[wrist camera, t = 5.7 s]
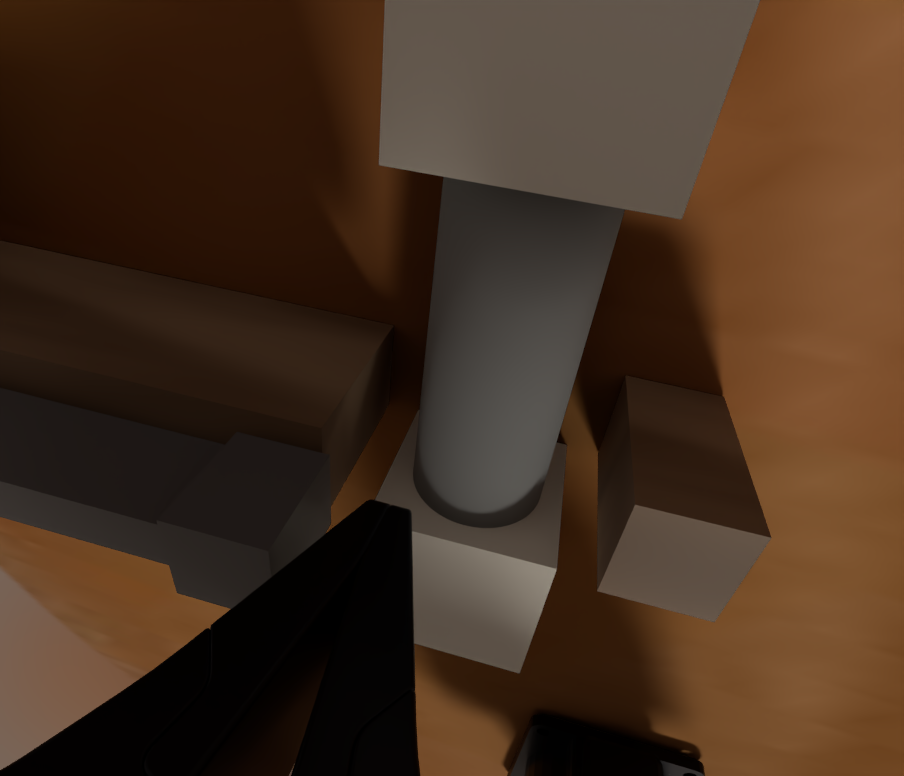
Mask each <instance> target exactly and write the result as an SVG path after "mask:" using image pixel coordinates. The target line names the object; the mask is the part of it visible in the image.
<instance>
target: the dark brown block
mask: <svg viewBox="0 0 904 776" xmlns="http://www.w3.org/2000/svg"><path fill="white" fill-rule="evenodd" d="M393 331H394V325H390V324H385V323H380V322H376V321H371V320H366V319H362V318H357V317H352V316H348V315H343V314H339V313H334V312H329V311H325V310H320V309H315V308H311V307H306V306H301V305H297V304H292V303H288V302H283V301H278V300H274V299H269V298H264V297H260V296H255V295H251V294H246V293H241V292H237V291H232V290H227V289H223V288H218V287H213V286H209V285H204V284H200V283H195V282H190V281H186V280H181V279H176V278H172V277H167V276H163V275H158V274H153V273H149V272H144V271H139V270H135V269H130V268H125V267H121V266H116V265H112V264H107V263H102V262H98V261H93V260H88V259H84V258H79V257H74V256H70V255H65V254H61V253H56V252H51V251H47V250H42V249H37V248H33V247H28V246H24V245H19V244H14V243H10V242H5V241H0V388H3V389H7V390H11V391H15V392H19V393H23V394H27V395H31V396H35V397H39V398H43V399H47V400H51V401H55V402H59V403H63V404H66V405H70V406H74V407H78V408H82V409H86V410H90V411H94V412H98V413H102V414H106V415H110V416H114V417H118V418H122V419H126V420H130V421H134V422H138V423H141V424H145V425H149V426H153V427H157V428H161V429H165V430H169V431H173V432H177V433H181V434H185V435H189V436H193V437H197V438H201V439H205V440H209V441H212V442H216V443H220V444H224V445H225V444H226V443H227V442H228V441H229V440H230V439H231V438H232V436H233V435H234V434H235V433H236V432H240V433H244V434H248V435H252V436H256V437H260V438H264V439H268V440H272V441H276V442H280V443H284V444H288V445H292V446H296V447H300V448H304V449H308V450H312V451H316V452H320V453H324V454H328V455H330V495H331V506H332V504H333V502H334V500H335V499H336V497H337V495H338V493H339V492H340V490H341V488H342V486H343V484H344V483H345V481H346V479H347V477H348V476H349V474H350V472H351V470H352V469H353V467H354V465H355V463H356V462H357V460H358V458H359V456H360V455H361V453H362V451H363V449H364V447H365V446H366V444H367V442H368V440H369V439H370V437H371V435H372V433H373V432H374V430H375V428H376V426H377V425H378V423H379V421H380V419H381V418H382V416H383V414H384V412H385V410H386V409H387V407H388V405H389V396H390V380H391V364H392V347H393ZM770 539H771V535H770V532H769V529H768V526H767V523H766V520H765V517H764V514H763V511H762V508H761V505H760V502H759V499H758V496H757V494H756V491H755V488H754V485H753V482H752V479H751V476H750V473H749V470H748V467H747V464H746V461H745V458H744V455H743V452H742V449H741V446H740V443H739V440H738V437H737V434H736V431H735V428H734V425H733V422H732V419H731V416H730V413H729V410H728V407H727V404H726V401H725V398H724V397H723V396H718V395H714V394H709V393H705V392H700V391H695V390H691V389H686V388H681V387H677V386H672V385H667V384H663V383H658V382H654V381H649V380H644V379H640V378H635V377H630V376H625V379H624V382H623V385H622V388H621V390H620V393H619V396H618V399H617V402H616V404H615V407H614V410H613V413H612V416H611V418H610V421H609V424H608V427H607V430H606V432H605V435H604V438H603V441H602V444H601V446H600V449H599V452H598V532H597V591H598V592H602V593H606V594H610V595H613V596H617V597H621V598H625V599H628V600H632V601H636V602H640V603H644V604H647V605H651V606H655V607H659V608H662V609H666V610H670V611H674V612H677V613H681V614H685V615H689V616H693V617H696V618H700V619H704V620H708V621H711V622H715V620H716V619H717V617H718V616H719V615H720V613H721V612H722V610H723V609H724V607H725V606H726V604H727V603H728V601H729V600H730V598H731V597H732V595H733V594H734V592H735V591H736V589H737V588H738V586H739V585H740V584H741V582H742V581H743V579H744V578H745V576H746V575H747V573H748V572H749V570H750V569H751V567H752V566H753V564H754V563H755V561H756V560H757V558H758V557H759V555H760V554H761V553H762V551H763V550H764V548H765V547H766V545H767V544H768V542H769V541H770Z"/></svg>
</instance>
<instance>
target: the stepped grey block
mask: <svg viewBox="0 0 904 776" xmlns="http://www.w3.org/2000/svg"><path fill="white" fill-rule="evenodd" d="M0 517H3V518H6V519H10V520H13V521H17V522H20V523H24V524H27V525H31V526H34V527H38V528H41V529H45V530H48V531H52V532H55V533H59V534H62V535H66V536H69V537H73V538H76V539H80V540H83V541H87V542H90V543H94V544H97V545H101V546H104V547H108V548H111V549H115V550H118V551H122V552H125V553H129V554H132V555H136V556H139V557H142V558H146V559H149V560H153V561H156V562H160V563H163V564H167V565H169V566H170V570H171V573H172V577H173V580H174V584H175V587H176V591H177V593H179V594H182V595H186V596H189V597H193V598H196V599H199V600H203V601H206V602H210V603H213V604H216V605H220V606H223V607H227V608H230V609H232V608H233V607H234V606H236V605H237V604H238V603H239V602H241V601H242V600H243V599H244V598H246V597H247V596H248V595H249V594H251V593H252V592H253V591H254V590H256V589H257V588H258V587H259V586H261V585H262V584H263V583H264V582H266V581H267V580H268V579H269V578H271V577H272V576H273V575H274V574H276V573H277V572H278V571H280V570H281V569H282V568H283V567H285V566H286V565H287V564H288V563H290V562H291V561H292V560H293V559H295V558H296V557H297V556H298V555H300V554H301V553H302V552H303V551H305V550H306V549H307V548H308V547H310V546H311V545H312V544H313V543H315V542H316V541H317V540H318V539H320V538H321V537H322V536H323V535H325V533H326V531H327V530H328V528H329V526H330V524H331V495H330V455H328V454H324V453H320V452H316V451H312V450H308V449H304V448H300V447H296V446H292V445H288V444H284V443H280V442H276V441H272V440H268V439H264V438H260V437H256V436H252V435H248V434H244V433H240V432H236V433H235V434H234V435H233V436H232V438H231V439H230V440H229V441H228V442H227V443H226V444H225V445H224V444H220V443H216V442H212V441H209V440H205V439H201V438H197V437H193V436H189V435H185V434H181V433H177V432H173V431H169V430H165V429H161V428H157V427H153V426H149V425H145V424H141V423H138V422H134V421H130V420H126V419H122V418H118V417H114V416H110V415H106V414H102V413H98V412H94V411H90V410H86V409H82V408H78V407H74V406H70V405H66V404H63V403H59V402H55V401H51V400H47V399H43V398H39V397H35V396H31V395H27V394H23V393H19V392H15V391H11V390H7V389H3V388H0Z"/></svg>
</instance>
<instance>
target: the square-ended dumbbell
mask: <svg viewBox="0 0 904 776" xmlns="http://www.w3.org/2000/svg"><path fill="white" fill-rule="evenodd" d="M759 2H760V0H385V12H384V39H383V65H382V92H381V119H380V146H379V165H381V166H386V167H392V168H398V169H403V170H409V171H414V172H420V173H426V174H431V175H437V176H442V177H443V186H442V196H441V206H440V215H439V225H438V235H437V245H436V255H435V264H434V274H433V284H432V294H431V303H430V313H429V323H428V333H427V342H426V352H425V362H424V372H423V381H422V391H421V401H420V410H418V411H417V413H416V416H415V418H414V420H413V422H412V424H411V426H410V428H409V430H408V432H407V434H406V436H405V438H404V440H403V443H402V445H401V447H400V449H399V451H398V453H397V455H396V457H395V459H394V461H393V463H392V465H391V467H390V470H389V472H388V474H387V476H386V478H385V480H384V482H383V484H382V486H381V488H380V490H379V492H378V494H377V497H376V499H375V500H376V501H380V502H384V503H388V504H389V505H390V506H391V505H395V506H399V507H403V508H407V509H410V510H411V512H412V550H413V601H414V643H415V644H418V645H422V646H425V647H429V648H432V649H436V650H439V651H443V652H446V653H450V654H453V655H457V656H460V657H464V658H467V659H470V660H474V661H477V662H481V663H484V664H488V665H491V666H495V667H498V668H502V669H505V670H509V671H512V672H516V673H519V674H520V671H521V668H522V666H523V663H524V660H525V657H526V654H527V652H528V649H529V646H530V643H531V640H532V638H533V635H534V632H535V629H536V626H537V624H538V621H539V618H540V615H541V612H542V610H543V607H544V604H545V601H546V598H547V595H548V593H549V590H550V587H551V584H552V581H553V579H554V576H555V573H556V570H557V562H558V550H559V538H560V525H561V513H562V501H563V488H564V476H565V464H566V451H567V445H565V444H561V443H557V439H558V435H559V432H560V428H561V425H562V422H563V418H564V415H565V412H566V408H567V405H568V401H569V398H570V395H571V391H572V388H573V384H574V381H575V378H576V374H577V371H578V367H579V364H580V361H581V357H582V354H583V350H584V347H585V344H586V340H587V337H588V333H589V330H590V327H591V323H592V320H593V316H594V313H595V310H596V306H597V303H598V299H599V296H600V293H601V289H602V286H603V282H604V279H605V276H606V272H607V269H608V265H609V262H610V259H611V255H612V252H613V248H614V245H615V242H616V238H617V235H618V231H619V228H620V225H621V221H622V218H623V215H624V211H625V209H626V210H632V211H638V212H643V213H649V214H654V215H660V216H665V217H671V218H677V219H682V217H683V215H684V212H685V209H686V206H687V203H688V201H689V198H690V195H691V192H692V189H693V187H694V184H695V181H696V178H697V175H698V173H699V170H700V167H701V164H702V161H703V159H704V156H705V153H706V150H707V147H708V145H709V142H710V139H711V136H712V133H713V131H714V128H715V125H716V122H717V119H718V117H719V114H720V111H721V108H722V105H723V103H724V100H725V97H726V94H727V91H728V89H729V86H730V83H731V80H732V77H733V75H734V72H735V69H736V66H737V63H738V61H739V58H740V55H741V52H742V49H743V47H744V44H745V41H746V38H747V35H748V33H749V30H750V27H751V24H752V21H753V19H754V16H755V13H756V10H757V7H758V5H759Z"/></svg>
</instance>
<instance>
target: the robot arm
mask: <svg viewBox="0 0 904 776" xmlns="http://www.w3.org/2000/svg"><path fill="white" fill-rule="evenodd" d="M414 691H415V652H414V601H413V550H412V512H411V510H410V509H407V508H403V507H399V506H395V505H391V506H390V505H389V504H388V503H384V502H380V501H376V500H368V501H366V502H365V503H364V504H362V505H361V506H360V507H359V508H357V509H356V510H355V511H354V512H352V513H351V514H350V515H349V516H347V517H346V518H345V519H344V520H342V521H341V522H340V523H339V524H337V525H336V526H335V527H334V528H332V529H331V530H330V531H329V532H327V533H326V534H325V535H323V536H322V537H321V538H320V539H318V540H317V541H316V542H315V543H313V544H312V545H311V546H310V547H308V548H307V549H306V550H305V551H303V552H302V553H301V554H300V555H298V556H297V557H296V558H295V559H293V560H292V561H291V562H290V563H288V564H287V565H286V566H285V567H283V568H282V569H281V570H280V571H278V572H277V573H276V574H274V575H273V576H272V577H271V578H269V579H268V580H267V581H266V582H264V583H263V584H262V585H261V586H259V587H258V588H257V589H256V590H254V591H253V592H252V593H251V594H249V595H248V596H247V597H246V598H244V599H243V600H242V601H241V602H239V603H238V604H237V605H236V606H234V607H233V608H232V609H231V610H229V611H228V612H227V613H226V614H224V615H223V616H222V617H220V618H219V619H218V620H217V621H215V622H214V623H213V624H212V625H211V627H210V629H209V628H207V629H205V630H204V631H203V632H201V633H200V634H199V635H198V636H196V637H195V638H194V639H193V640H191V641H190V642H189V643H188V644H186V645H185V646H184V647H182V648H181V649H180V650H178V651H177V652H176V653H174V654H173V655H172V656H171V657H169V658H168V659H167V660H165V661H164V662H163V663H161V664H160V665H159V666H157V667H156V668H155V669H153V670H152V671H150V672H149V673H147V674H146V675H145V676H143V677H142V678H140V679H139V680H137V681H136V682H134V683H133V684H132V685H130V686H129V687H127V688H126V689H124V690H123V691H121V692H120V693H118V694H117V695H116V696H114V697H112V698H111V699H109V700H108V701H106V702H105V703H103V704H102V705H100V706H99V707H97V708H96V709H94V710H93V711H91V712H90V713H88V714H87V715H85V716H84V717H82V718H81V719H79V720H78V721H76V722H75V723H73V724H72V725H70V726H69V727H67V728H65V729H64V730H63V731H61V732H59V733H58V734H56V735H55V736H53V737H52V738H50V739H49V740H47V741H46V742H44V743H43V744H41V745H40V746H39V747H37V748H35V749H34V750H32V751H31V752H29V753H28V754H26V755H25V756H23V757H22V758H20V759H18V760H17V761H15V762H13V763H12V764H10V765H9V766H7V767H5V768H3V769H2V770H0V776H289V774H290V772H291V770H292V768H293V766H294V768H293V771H292V775H291V776H420V768H419V760H418V746H417V727H416V694H415V692H414ZM294 764H295V765H294ZM507 776H705V772H704V766H703V764H702V763H701V762H700V761H698V760H696V759H693V758H690V757H686V756H683V755H680V754H676V753H673V752H669V751H666V750H663V749H659V748H656V747H653V746H649V745H646V744H642V743H639V742H636V741H632V740H629V739H626V738H622V737H619V736H615V735H612V734H609V733H605V732H602V731H598V730H595V729H592V728H588V727H585V726H582V725H578V724H575V723H571V722H568V721H565V720H561V719H558V718H555V717H551V716H548V715H543V714H537V715H534V716H532V718H531V720H530V722H529V725H528V727H527V729H526V732H525V734H524V737H523V739H522V741H521V744H520V746H519V749H518V751H517V753H516V756H515V758H514V760H513V763H512V765H511V768H510V770H509V772H508V775H507Z"/></svg>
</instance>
